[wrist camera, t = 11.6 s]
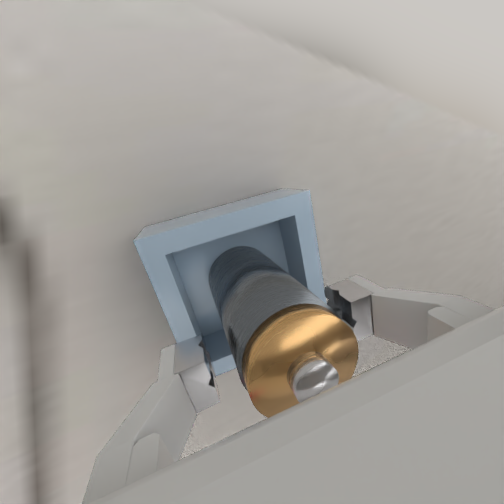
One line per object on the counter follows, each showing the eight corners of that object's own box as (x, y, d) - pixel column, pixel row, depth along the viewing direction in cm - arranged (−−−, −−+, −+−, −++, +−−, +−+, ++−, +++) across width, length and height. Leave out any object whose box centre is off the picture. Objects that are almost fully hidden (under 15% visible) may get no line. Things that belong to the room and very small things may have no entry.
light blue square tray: (281, 188, 15) (309, 190, 12) (303, 301, 18) (330, 328, 15) (144, 226, 13) (133, 240, 10) (192, 344, 16) (195, 385, 13)
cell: (263, 237, 14) (371, 302, 7) (276, 293, 16) (378, 403, 8) (199, 258, 14) (234, 362, 6) (219, 315, 15) (268, 463, 7)
